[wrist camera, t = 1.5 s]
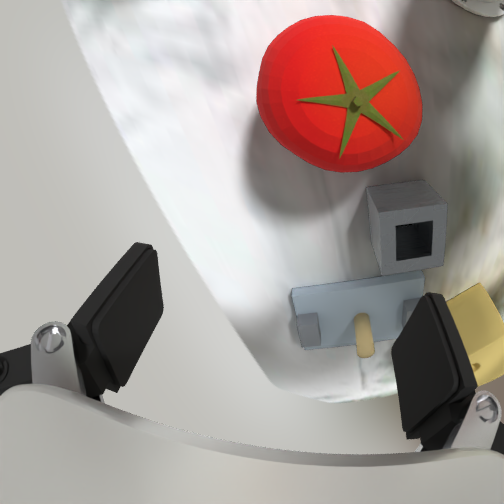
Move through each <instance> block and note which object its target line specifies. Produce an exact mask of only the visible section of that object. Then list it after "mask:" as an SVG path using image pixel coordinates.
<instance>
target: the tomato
mask: <svg viewBox="0 0 504 504" xmlns="http://www.w3.org/2000/svg"><path fill="white" fill-rule="evenodd" d="M256 102H257V105H258V109H259V112H260V116H261V118H262V120H263V122H264V123H265V125H266V127H267V129H268V131H269V132H270V134H271V135H272V136H273V137H274V138H275V139H276V140H277V141H278V142H279V143H280V144H281V145H282V146H284V147H285V148H287V149H288V150H289V151H291V152H292V153H294V154H295V155H297V156H298V157H300V158H302V159H303V160H305V161H306V162H308V163H310V164H312V165H314V166H317V167H319V168H322V169H324V170H329V171H335V172H359V171H363V170H367V169H372V168H374V167H376V166H379V165H381V164H383V163H386V162H387V161H389V160H391V159H392V158H394V157H396V156H397V155H399V154H400V153H401V152H402V151H404V150H405V149H406V148H407V147H408V146H409V145H410V144H411V143H412V141H413V140H414V139H415V137H416V136H417V134H418V131H419V128H420V125H421V122H422V100H421V95H420V90H419V86H418V84H417V81H416V78H415V75H414V73H413V71H412V69H411V68H410V66H409V64H408V62H407V61H406V59H405V58H404V56H403V55H402V54H401V53H400V52H399V50H398V49H397V48H396V47H395V46H394V45H393V44H392V43H391V42H390V41H389V40H388V39H387V38H386V37H385V36H383V35H382V34H381V33H380V32H379V31H377V30H376V29H374V28H373V27H371V26H370V25H368V24H366V23H365V22H362V21H359V20H356V19H353V18H349V17H344V16H335V15H325V16H314V17H310V18H307V19H303V20H300V21H298V22H297V23H295V24H293V25H291V26H289V27H288V28H286V29H285V30H284V31H283V32H281V33H280V34H279V35H277V37H276V38H275V39H274V40H273V41H272V42H271V43H270V45H269V46H268V48H267V50H266V52H265V54H264V56H263V58H262V62H261V66H260V71H259V76H258V82H257V100H256Z"/></svg>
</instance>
